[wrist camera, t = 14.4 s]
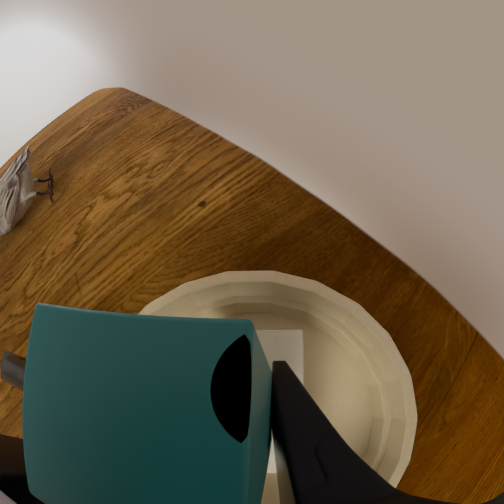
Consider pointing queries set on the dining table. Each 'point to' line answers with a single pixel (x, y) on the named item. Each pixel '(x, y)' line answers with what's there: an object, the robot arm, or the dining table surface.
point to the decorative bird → (18, 192)
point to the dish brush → (150, 407)
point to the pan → (320, 357)
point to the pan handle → (13, 369)
